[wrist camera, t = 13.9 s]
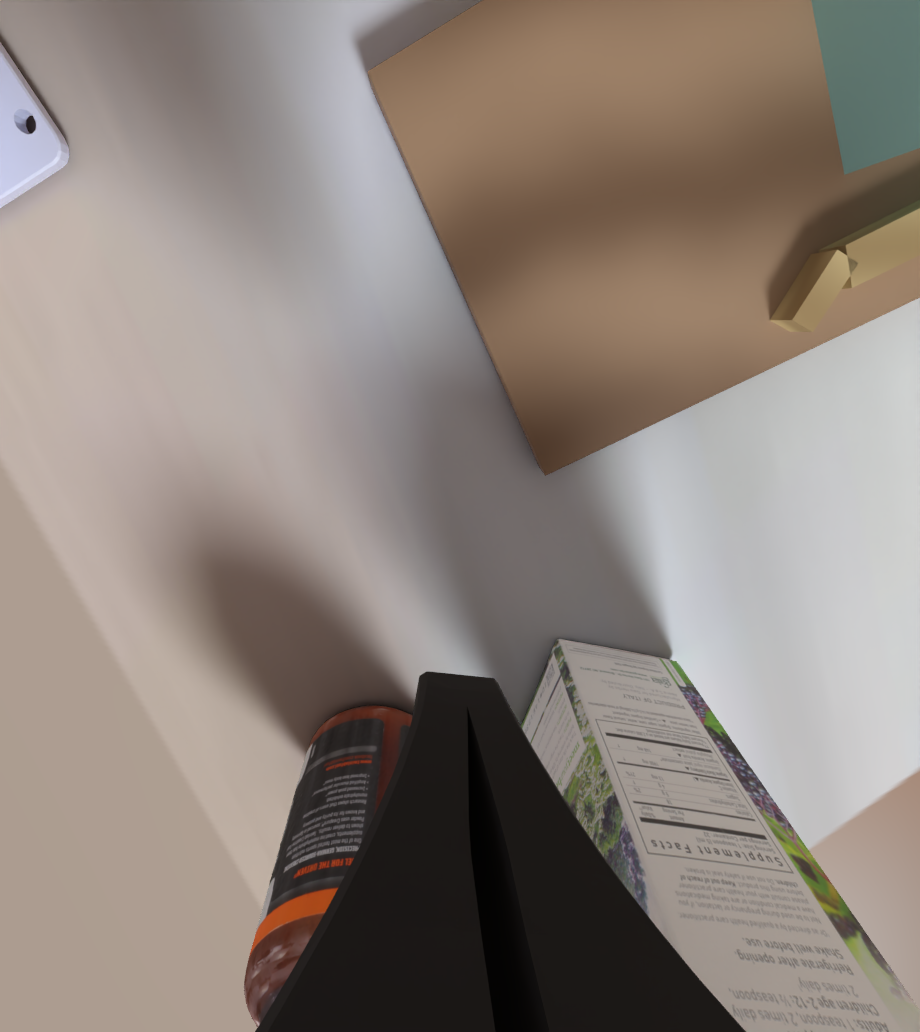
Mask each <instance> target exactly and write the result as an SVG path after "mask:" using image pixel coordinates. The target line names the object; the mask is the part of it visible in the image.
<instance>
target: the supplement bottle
mask: <svg viewBox="0 0 920 1032" xmlns="http://www.w3.org/2000/svg"><path fill="white" fill-rule="evenodd" d="M412 716H413V715H411V714H409V713H406V712H404V711H401V710H398V709H395V708H390V707H385V706H363V707H357V708H353V709H349V710H346V711H344V712H341V713H338V714H337V715H335V716H334V717H332V718H330V719H329V720H327V721H326V722H325V723H324V724H323V725H322V726H321V727H320V728H319V729H318V730H317V732H316V733H315V735H314V736H313V738H312V740H311V742H310V745H309V748H308V751H307V753H306V756H305V759H304V763H303V766H302V770H301V774H300V777H299V781H298V784H297V788H296V791H295V795H294V798H293V802H292V805H291V809H290V813H289V816H288V820H287V824H286V827H285V831H284V834H283V838H282V841H281V844H280V849H279V852H278V856H277V859H276V863H275V867H274V870H273V873H272V877H271V880H270V884H269V888H268V891H267V895H266V899H265V902H264V906H263V909H262V913H261V916H260V920H259V924H258V927H257V931H256V935H255V939H254V942H253V945H252V949H251V953H250V956H249V960H248V965H247V969H246V975H245V982H244V991H245V998H246V1004H247V1007H248V1010H249V1012H250V1014H251V1017H252V1019H253V1020H254V1022H255V1023H256V1026H257V1027H258V1026H259V1025H260V1023H261V1022H262V1020H263V1018H264V1017H265V1015H266V1013H267V1012H268V1010H269V1008H270V1007H271V1005H272V1004H273V1002H274V1000H275V999H276V997H277V995H278V993H279V992H280V990H281V988H282V987H283V985H284V983H285V982H286V980H287V978H288V977H289V975H290V973H291V972H292V970H293V968H294V966H295V965H296V963H297V961H298V959H299V958H300V956H301V954H302V952H303V950H304V949H305V947H306V945H307V943H308V942H309V940H310V938H311V936H312V935H313V933H314V931H315V929H316V928H317V926H318V924H319V922H320V921H321V919H322V917H323V915H324V913H325V912H326V910H327V908H328V906H329V904H330V903H331V901H332V899H333V897H334V895H335V893H336V891H337V889H338V888H339V886H340V884H341V882H342V880H343V878H344V876H345V874H346V872H347V871H348V869H349V867H350V865H351V863H352V861H353V859H354V857H355V855H356V853H357V851H358V849H359V847H360V845H361V843H362V841H363V839H364V837H365V835H366V833H367V830H368V828H369V826H370V824H371V822H372V820H373V817H374V815H375V813H376V811H377V808H378V806H379V804H380V802H381V800H382V797H383V795H384V793H385V791H386V788H387V786H388V784H389V782H390V779H391V777H392V775H393V772H394V770H395V767H396V764H397V762H398V759H399V756H400V753H401V751H402V748H403V745H404V743H405V740H406V737H407V735H408V732H409V728H410V725H411V722H412Z"/></svg>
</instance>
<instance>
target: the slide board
mask: <svg viewBox="0 0 920 1032" xmlns="http://www.w3.org/2000/svg"><path fill="white" fill-rule="evenodd" d="M367 72H368V76H369V79H370V83H371V87H372V90H373V93H374V95H375V97H376V99H377V102H378V104H379V106H380V108H381V111H382V113H383V115H384V117H385V120H386V122H387V124H388V127H389V129H390V131H391V133H392V136H393V138H394V140H395V142H396V145H397V147H398V149H399V151H400V154H401V156H402V158H403V160H404V163H405V165H406V167H407V169H408V172H409V174H410V176H411V179H412V181H413V183H414V185H415V188H416V190H417V192H418V194H419V197H420V199H421V201H422V203H423V206H424V208H425V210H426V212H427V215H428V217H429V219H430V221H431V224H432V226H433V228H434V230H435V233H436V235H437V237H438V240H439V242H440V244H441V246H442V249H443V251H444V253H445V255H446V258H447V260H448V262H449V264H450V267H451V269H452V271H453V273H454V276H455V278H456V280H457V282H458V285H459V287H460V289H461V292H462V294H463V296H464V298H465V301H466V303H467V305H468V307H469V310H470V312H471V314H472V316H473V319H474V321H475V323H476V325H477V328H478V330H479V332H480V334H481V337H482V339H483V341H484V343H485V346H486V348H487V350H488V353H489V355H490V357H491V359H492V362H493V364H494V366H495V368H496V371H497V373H498V375H499V377H500V380H501V382H502V384H503V386H504V389H505V391H506V393H507V395H508V398H509V400H510V402H511V405H512V407H513V409H514V411H515V414H516V416H517V418H518V420H519V423H520V425H521V427H522V429H523V432H524V434H525V436H526V438H527V441H528V443H529V445H530V447H531V450H532V452H533V454H534V456H535V459H536V461H537V463H538V466H539V468H540V469H541V470H542V472H543V473H544V474H545V476H546V475H548V474H550V473H552V472H554V471H556V470H558V469H560V468H562V467H565V466H567V465H569V464H571V463H573V462H575V461H577V460H579V459H581V458H583V457H586V456H588V455H590V454H592V453H594V452H596V451H598V450H600V449H602V448H604V447H607V446H609V445H611V444H613V443H615V442H617V441H619V440H621V439H623V438H625V437H628V436H630V435H632V434H634V433H636V432H638V431H640V430H642V429H644V428H647V427H649V426H651V425H653V424H655V423H657V422H659V421H661V420H663V419H665V418H668V417H670V416H672V415H674V414H676V413H678V412H680V411H682V410H684V409H686V408H689V407H691V406H693V405H695V404H697V403H699V402H701V401H703V400H705V399H707V398H710V397H712V396H714V395H716V394H718V393H720V392H722V391H724V390H726V389H728V388H731V387H733V386H735V385H737V384H739V383H741V382H743V381H745V380H747V379H749V378H752V377H754V376H756V375H758V374H760V373H762V372H764V371H766V370H768V369H770V368H773V367H775V366H777V365H779V364H781V363H783V362H785V361H787V360H789V359H791V358H794V357H796V356H798V355H800V354H802V353H804V352H806V351H808V350H810V349H812V348H815V347H817V346H819V345H821V344H823V343H825V342H827V341H829V340H831V339H833V338H836V337H838V336H840V335H842V334H844V333H846V332H848V331H850V330H852V329H855V328H857V327H859V326H861V325H863V324H865V323H867V322H869V321H871V320H873V319H876V318H878V317H880V316H882V315H884V314H886V313H888V312H890V311H892V310H894V309H897V308H899V307H901V306H903V305H905V304H907V303H909V302H911V301H913V300H915V299H918V298H920V148H918V149H915V150H913V151H910V152H907V153H904V154H901V155H899V156H896V157H893V158H890V159H887V160H885V161H882V162H879V163H876V164H873V165H870V166H868V167H865V168H862V169H859V170H856V171H854V172H851V173H848V174H845V175H844V169H843V164H842V159H841V154H840V148H839V143H838V138H837V133H836V127H835V122H834V117H833V112H832V107H831V101H830V96H829V91H828V86H827V80H826V75H825V70H824V65H823V60H822V54H821V49H820V44H819V39H818V33H817V28H816V23H815V18H814V12H813V7H812V2H811V0H482V1H481V2H479V3H478V4H476V5H474V6H473V7H471V8H469V9H468V10H466V11H465V12H463V13H461V14H460V15H458V16H457V17H455V18H453V19H452V20H450V21H448V22H447V23H445V24H444V25H442V26H440V27H439V28H437V29H435V30H434V31H432V32H431V33H429V34H427V35H426V36H424V37H423V38H421V39H419V40H418V41H416V42H414V43H413V44H411V45H410V46H408V47H406V48H405V49H403V50H401V51H400V52H398V53H397V54H395V55H393V56H392V57H390V58H389V59H387V60H385V61H384V62H382V63H380V64H379V65H377V66H376V67H374V68H372V69H371V70H369V71H367Z"/></svg>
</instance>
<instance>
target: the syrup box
mask: <svg viewBox="0 0 920 1032" xmlns="http://www.w3.org/2000/svg"><path fill="white" fill-rule="evenodd" d="M521 728H522V729H523V731H524V733H525V735H526V737H527V738H528V740H529V742H530V744H531V745H532V747H533V749H534V750H535V752H536V754H537V756H538V757H539V759H540V761H541V762H542V764H543V765H544V767H545V769H546V770H547V772H548V774H549V775H550V777H551V778H552V780H553V782H554V783H555V785H556V787H557V788H558V790H559V791H560V793H561V795H562V796H563V798H564V799H565V801H566V802H567V804H568V805H569V807H570V808H571V810H572V812H573V813H574V815H575V816H576V818H577V819H578V821H579V822H580V823H581V825H582V826H583V828H584V829H585V831H586V832H587V834H588V835H589V837H590V838H591V839H592V841H593V842H594V844H595V845H596V847H597V848H598V850H599V851H600V852H601V854H602V855H603V857H604V858H605V859H606V861H607V862H608V864H609V865H610V866H611V868H612V869H613V871H614V872H615V873H616V875H617V876H618V877H619V879H620V880H621V881H622V883H623V884H624V885H625V887H626V888H627V889H628V891H629V892H630V893H631V895H632V896H633V897H634V898H635V900H636V901H637V902H638V904H639V905H640V906H641V907H642V909H643V910H644V911H645V913H646V914H647V915H648V917H649V918H650V919H651V920H652V922H653V923H654V924H655V926H656V927H657V928H658V929H659V930H660V932H661V933H662V934H663V935H664V937H665V938H666V939H667V940H668V941H669V943H670V944H671V945H672V946H673V948H674V949H675V950H676V951H677V952H678V954H679V955H680V956H681V957H682V959H683V960H684V961H685V962H686V964H687V965H688V966H689V967H690V968H691V970H692V971H693V972H694V973H695V974H696V976H697V977H698V978H699V979H700V980H701V981H702V983H703V984H704V985H705V986H706V987H707V988H708V989H709V990H710V992H711V993H712V994H713V995H714V996H715V997H716V998H717V999H718V1001H719V1002H720V1003H721V1004H722V1005H723V1006H724V1007H725V1008H726V1010H727V1011H728V1012H729V1013H730V1014H731V1015H732V1016H733V1018H734V1019H735V1020H736V1021H737V1022H738V1023H739V1024H740V1025H741V1027H742V1028H743V1029H744V1030H745V1031H746V1032H920V1009H919V1008H918V1006H917V1005H916V1003H915V1002H914V1001H913V999H912V998H911V996H910V995H909V993H908V992H907V991H906V989H905V988H904V986H903V985H902V983H901V982H900V981H899V979H898V978H897V976H896V975H895V974H894V972H893V971H892V969H891V968H890V966H889V965H888V964H887V962H886V961H885V959H884V958H883V957H882V955H881V954H880V952H879V951H878V950H877V948H876V947H875V945H874V944H873V943H872V941H871V940H870V938H869V937H868V935H867V934H866V933H865V931H864V930H863V928H862V927H861V925H860V924H859V922H858V921H857V919H856V918H855V917H854V915H853V914H852V913H851V911H850V910H849V908H848V907H847V905H846V904H845V902H844V901H843V899H842V898H841V896H840V895H839V894H838V892H837V890H836V889H835V888H834V886H833V885H832V883H831V882H830V881H829V879H828V877H827V876H826V875H825V873H824V872H823V870H822V869H821V867H820V866H819V865H818V863H817V862H816V861H815V859H814V858H813V856H812V855H811V853H810V852H809V850H808V849H807V848H806V846H805V845H804V843H803V842H802V840H801V839H800V837H799V836H798V835H797V833H796V832H795V830H794V829H793V827H792V826H791V824H790V823H789V822H788V820H787V819H786V817H785V816H784V814H783V813H782V812H781V810H780V809H779V807H778V806H777V805H776V803H775V802H774V801H773V799H772V798H771V796H770V795H769V793H768V792H767V790H766V789H765V788H764V786H763V785H762V783H761V782H760V780H759V779H758V777H757V776H756V775H755V773H754V772H753V770H752V769H751V768H750V766H749V765H748V764H747V762H746V761H745V759H744V758H743V756H742V755H741V753H740V752H739V750H738V749H737V747H736V746H735V745H734V743H733V742H732V740H731V739H730V737H729V736H728V734H727V733H726V731H725V730H724V728H723V727H722V725H721V724H720V723H719V721H718V720H717V719H716V717H715V716H714V714H713V713H712V711H711V710H710V708H709V707H708V705H707V704H706V703H705V701H704V700H703V698H702V697H701V696H700V694H699V693H698V691H697V690H696V688H695V687H694V685H693V684H692V683H691V681H690V680H689V678H688V677H687V675H686V674H685V672H684V671H683V669H682V668H681V666H680V665H679V664H678V663H677V662H676V661H672V660H670V659H665V658H660V657H655V656H650V655H645V654H640V653H634V652H629V651H624V650H619V649H613V648H608V647H603V646H597V645H591V644H586V643H580V642H574V641H569V640H564V639H557V640H556V642H555V644H554V646H553V649H552V651H551V654H550V656H549V659H548V662H547V664H546V667H545V669H544V672H543V674H542V677H541V679H540V681H539V684H538V686H537V689H536V691H535V694H534V696H533V699H532V701H531V704H530V706H529V708H528V711H527V713H526V716H525V718H524V720H523V722H522V725H521Z"/></svg>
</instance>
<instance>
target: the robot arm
mask: <svg viewBox="0 0 920 1032" xmlns="http://www.w3.org/2000/svg"><path fill="white" fill-rule="evenodd" d="M32 115H33V117H34V119H35V121H36V130H35V131H34V132H33V133H32V134H30V133H29V132H28V130H27V127H26V120H27V118H28V117H29V116H32ZM68 159H69V148H68V145H67V143H66V141H65V138H64V137H63V135H62V134H61V132H60V131H59V129H58V128H57V126H56V125H55V123H54V122H53V120H52V119H51V117H50V116H49V114H48V113H47V111H46V110H45V108H44V107H43V105H42V104H41V102H40V101H39V99H38V98H37V96H36V95H35V93H34V92H33V90H32V89H31V87H30V86H29V84H28V83H27V81H26V80H25V78H24V77H23V75H22V74H21V72H20V71H19V69H18V68H17V66H16V65H15V63H14V62H13V60H12V59H11V57H10V56H9V54H8V53H7V51H6V50H5V48H4V47H3V45H2V44H1V42H0V208H1V207H3V206H4V205H6V204H7V203H9V202H11V201H12V200H14V199H15V198H17V197H18V196H20V195H21V194H23V193H24V192H26V191H28V190H29V189H31V188H32V187H34V186H35V185H37V184H38V183H40V182H41V181H43V180H45V179H46V178H48V177H49V176H51V175H52V174H54V173H55V172H57V171H58V170H60V169H62V168H63V167H64V166H65V165H66V164H67V163H68ZM255 1032H746V1031H745V1030H744V1029H743V1028H742V1027H741V1025H740V1024H739V1023H738V1022H737V1021H736V1020H735V1019H734V1018H733V1016H732V1015H731V1014H730V1013H729V1012H728V1011H727V1010H726V1008H725V1007H724V1006H723V1005H722V1004H721V1003H720V1002H719V1001H718V999H717V998H716V997H715V996H714V995H713V994H712V993H711V992H710V990H709V989H708V988H707V987H706V986H705V985H704V984H703V983H702V981H701V980H700V979H699V978H698V977H697V976H696V974H695V973H694V972H693V971H692V970H691V968H690V967H689V966H688V965H687V964H686V962H685V961H684V960H683V959H682V957H681V956H680V955H679V954H678V952H677V951H676V950H675V949H674V948H673V946H672V945H671V944H670V943H669V941H668V940H667V939H666V938H665V937H664V935H663V934H662V933H661V932H660V930H659V929H658V928H657V927H656V926H655V924H654V923H653V922H652V920H651V919H650V918H649V917H648V915H647V914H646V913H645V911H644V910H643V909H642V907H641V906H640V905H639V904H638V902H637V901H636V900H635V898H634V897H633V896H632V895H631V893H630V892H629V891H628V889H627V888H626V887H625V885H624V884H623V883H622V881H621V880H620V879H619V877H618V876H617V875H616V873H615V872H614V871H613V869H612V868H611V866H610V865H609V864H608V862H607V861H606V859H605V858H604V857H603V855H602V854H601V852H600V851H599V850H598V848H597V847H596V845H595V844H594V842H593V841H592V839H591V838H590V837H589V835H588V834H587V832H586V831H585V829H584V828H583V826H582V825H581V823H580V822H579V821H578V819H577V818H576V816H575V815H574V813H573V812H572V810H571V808H570V807H569V805H568V804H567V802H566V801H565V799H564V798H563V796H562V795H561V793H560V791H559V790H558V788H557V787H556V785H555V783H554V782H553V780H552V778H551V777H550V775H549V774H548V772H547V770H546V769H545V767H544V765H543V764H542V762H541V761H540V759H539V757H538V756H537V754H536V752H535V750H534V749H533V747H532V745H531V744H530V742H529V740H528V738H527V737H526V735H525V733H524V731H523V729H522V728H521V726H520V724H519V722H518V720H517V719H516V717H515V715H514V713H513V711H512V709H511V708H510V706H509V704H508V702H507V700H506V698H505V696H504V694H503V692H502V690H501V688H500V686H499V684H498V683H497V682H496V680H495V679H494V678H485V677H475V676H466V675H456V674H446V673H436V672H425V673H424V674H422V675H421V676H420V677H419V682H418V688H417V693H416V699H415V705H414V710H413V716H412V722H411V725H410V728H409V732H408V735H407V737H406V740H405V743H404V745H403V748H402V751H401V753H400V756H399V759H398V762H397V764H396V767H395V770H394V772H393V775H392V777H391V779H390V782H389V784H388V786H387V788H386V791H385V793H384V795H383V797H382V800H381V802H380V804H379V806H378V808H377V811H376V813H375V815H374V817H373V820H372V822H371V824H370V826H369V828H368V830H367V833H366V835H365V837H364V839H363V841H362V843H361V845H360V847H359V849H358V851H357V853H356V855H355V857H354V859H353V861H352V863H351V865H350V867H349V869H348V871H347V872H346V874H345V876H344V878H343V880H342V882H341V884H340V886H339V888H338V889H337V891H336V893H335V895H334V897H333V899H332V901H331V903H330V904H329V906H328V908H327V910H326V912H325V913H324V915H323V917H322V919H321V921H320V922H319V924H318V926H317V928H316V929H315V931H314V933H313V935H312V936H311V938H310V940H309V942H308V943H307V945H306V947H305V949H304V950H303V952H302V954H301V956H300V958H299V959H298V961H297V963H296V965H295V966H294V968H293V970H292V972H291V973H290V975H289V977H288V978H287V980H286V982H285V983H284V985H283V987H282V988H281V990H280V992H279V993H278V995H277V997H276V999H275V1000H274V1002H273V1004H272V1005H271V1007H270V1008H269V1010H268V1012H267V1013H266V1015H265V1017H264V1018H263V1020H262V1022H261V1023H260V1025H259V1026H258V1028H257V1030H256V1031H255Z"/></svg>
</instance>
